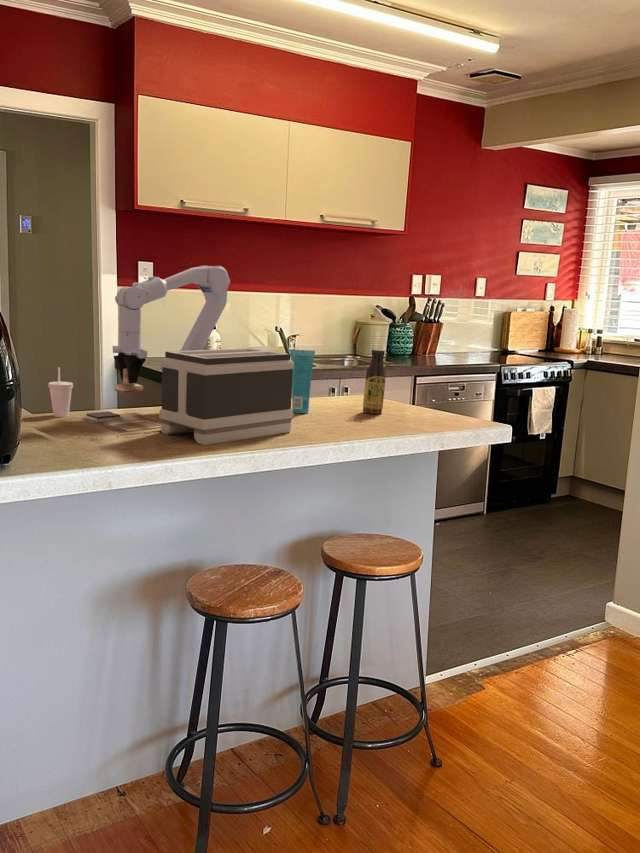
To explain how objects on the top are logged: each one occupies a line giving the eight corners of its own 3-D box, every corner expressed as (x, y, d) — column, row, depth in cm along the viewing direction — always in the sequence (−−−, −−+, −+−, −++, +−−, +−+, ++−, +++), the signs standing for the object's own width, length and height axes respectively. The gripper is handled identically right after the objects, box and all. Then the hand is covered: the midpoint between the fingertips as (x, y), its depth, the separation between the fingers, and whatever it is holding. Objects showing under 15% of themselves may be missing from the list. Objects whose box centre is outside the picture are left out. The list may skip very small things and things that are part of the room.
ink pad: (109, 415, 215) (109, 410, 214) (122, 420, 210) (122, 415, 210) (83, 418, 210) (83, 413, 209) (96, 422, 205) (96, 417, 204)
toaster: (303, 431, 212) (307, 353, 208) (203, 446, 187) (204, 359, 183) (258, 420, 224) (260, 346, 220) (158, 433, 199) (158, 351, 195)
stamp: (134, 389, 217) (134, 367, 216) (143, 391, 214) (143, 369, 213) (114, 390, 213) (115, 368, 212) (123, 392, 210) (123, 370, 209)
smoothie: (43, 418, 211) (42, 366, 208) (61, 415, 216) (60, 365, 214) (61, 421, 208) (60, 369, 205) (78, 418, 213) (78, 367, 211)
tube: (310, 411, 242) (313, 349, 239) (313, 414, 238) (316, 351, 234) (287, 410, 241) (289, 348, 237) (288, 413, 236) (291, 350, 233)
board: (135, 415, 222) (135, 412, 221) (179, 428, 206) (179, 425, 206) (77, 421, 210) (77, 417, 209) (120, 435, 194) (120, 432, 194)
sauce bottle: (365, 414, 241) (369, 350, 237) (360, 411, 247) (363, 348, 243) (386, 414, 243) (390, 350, 239) (379, 411, 249) (383, 348, 245)
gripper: (102, 329, 213) (102, 379, 216) (130, 334, 203) (130, 386, 205) (125, 329, 218) (125, 378, 220) (154, 334, 208) (153, 384, 210)
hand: (129, 382), depth 213 cm, fingers closed on stamp, 3 cm apart
